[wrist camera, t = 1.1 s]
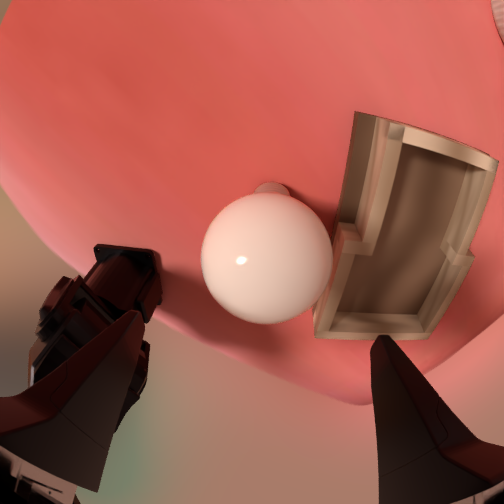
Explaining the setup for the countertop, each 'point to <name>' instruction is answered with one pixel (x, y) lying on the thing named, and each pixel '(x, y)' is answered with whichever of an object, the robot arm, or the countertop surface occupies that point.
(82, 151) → the countertop surface
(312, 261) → the lightbulb
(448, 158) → the wooden tray
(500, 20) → the ramekin
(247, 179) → the countertop surface
